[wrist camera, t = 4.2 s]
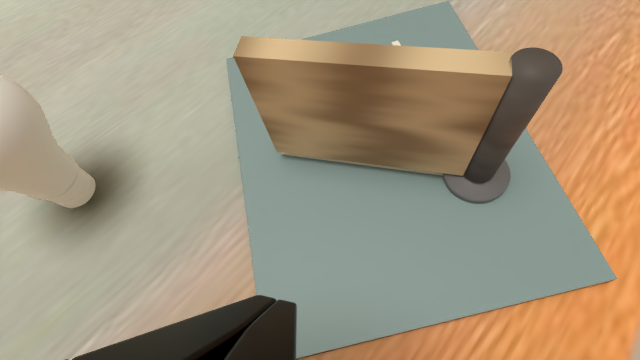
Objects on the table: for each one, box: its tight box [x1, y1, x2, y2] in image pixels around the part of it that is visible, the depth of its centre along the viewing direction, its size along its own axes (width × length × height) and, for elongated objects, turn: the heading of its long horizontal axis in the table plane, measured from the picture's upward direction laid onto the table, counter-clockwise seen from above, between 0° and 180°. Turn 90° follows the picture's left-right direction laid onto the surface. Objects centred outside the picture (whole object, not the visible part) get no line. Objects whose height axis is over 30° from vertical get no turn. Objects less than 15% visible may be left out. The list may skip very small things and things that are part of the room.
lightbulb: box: [0, 74, 95, 208], centre depth 20 cm, size 6×6×11 cm
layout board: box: [226, 1, 617, 359], centre depth 23 cm, size 22×18×1 cm
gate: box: [233, 36, 562, 183], centre depth 18 cm, size 13×2×8 cm, turn 78°
